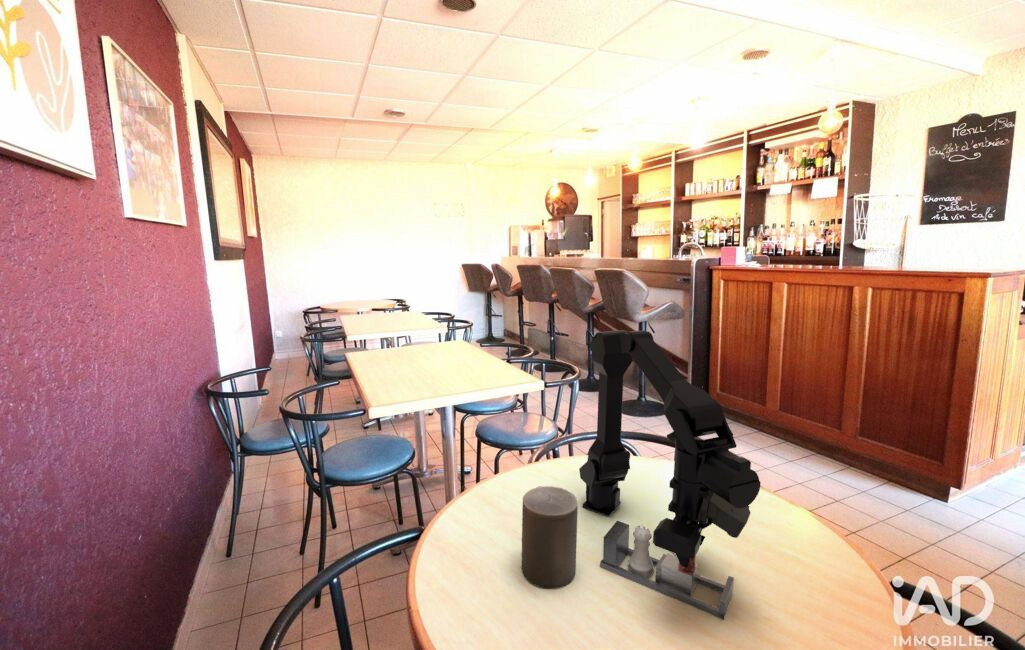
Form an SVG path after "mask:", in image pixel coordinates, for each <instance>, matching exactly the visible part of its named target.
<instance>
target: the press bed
mask: <svg viewBox="0 0 1025 650" xmlns="http://www.w3.org/2000/svg"><path fill="white" fill-rule="evenodd" d="M629 543H630V524H628V523H624V522H622V521H620V520H616V521H615V523H613V525H612V526H611V528H609V530H608V531H607V532H606V533H605V535H604V536H603V546H602V547H603V548H602V549H603V551H602V552H603V553H602V559H601V560H600V562H599V567H600V568H601V569H604V570H606V571H609V572H611V573H613V574H615V575H618V576H621V577H623V578H624V579H628V580H629V581H632V582H633V583H636V584H639V585H641V586H643V587H646V588H648V589H651V590H653V591H655V592H657V593H660V594H663V595H665V596H667V597H669V598H672V599H674V600H676V601H679V602H681V603H684V604H686V605H688V606H690V607H693V608H695V609H698V610H700V611H702V612H705V613H707V614H709V615H711V616H713V617H715V618H719V619H721V620H722V621H724V620H725V618H726V617H725V616H726V614H727V611H728V609H729V605H730V602H731V600H732V596H733V592H734V591H733V590H734V581H735V577H733V576H730V575H728V577H727V579H726V582H725V584H723V583H719V582H717V581H716V580H712V579H709V578H707V577H704V576H702V575H699V574H697V580H696V584H699V585H701V586H703V587H706V588H709V589H712V590H713V591H716V592H719V593H721V596H720V599H719V605H718V607H717V606H714V605H713V604H710V603H707V602H705V601H702V600H701V599H698V598H695V597H692V596H688V595H686V594H683V593H681V592H679V591H676V590H674V589H671V588H669V587H667V586H664V585H662V584H659V583H657V582H655V581H654V580H652V579H650V578H648V577H647V578H645V577H643V576H640V575H638V574H635V573H633V572H631V571H630V570H629V569H626V568H623V567H621V565H622V564H623V562H624V561H625V559H626V558H627V556H628V557H629V558H630V557H631V555H632V554H633V552H634V549H632V548H630V547H629V545H630V544H629ZM650 557H651V560H652V562H653V567H655V568H656V566H657V564H658V562H659V561H660V559H658V558H656V557H652V556H650Z"/></svg>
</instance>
